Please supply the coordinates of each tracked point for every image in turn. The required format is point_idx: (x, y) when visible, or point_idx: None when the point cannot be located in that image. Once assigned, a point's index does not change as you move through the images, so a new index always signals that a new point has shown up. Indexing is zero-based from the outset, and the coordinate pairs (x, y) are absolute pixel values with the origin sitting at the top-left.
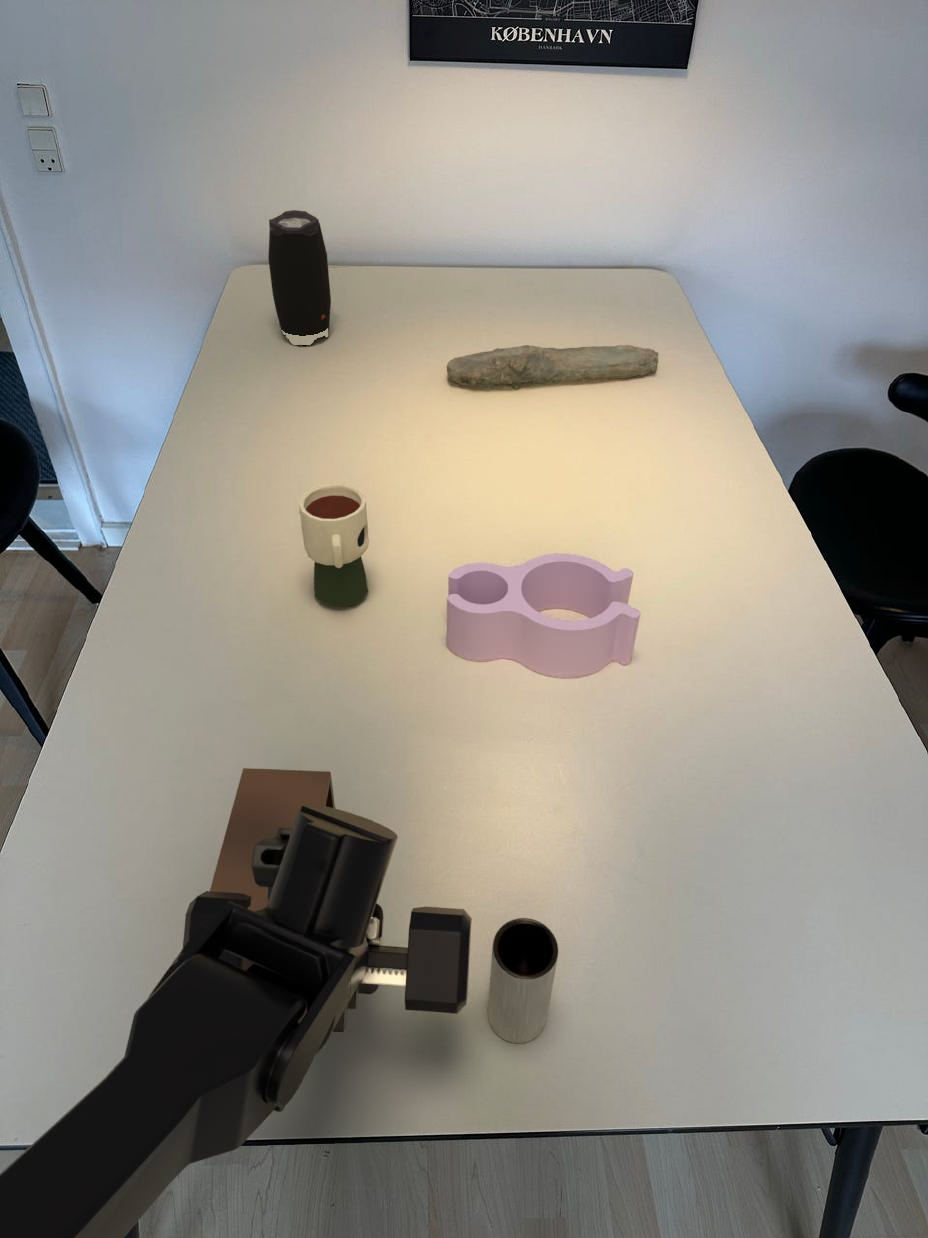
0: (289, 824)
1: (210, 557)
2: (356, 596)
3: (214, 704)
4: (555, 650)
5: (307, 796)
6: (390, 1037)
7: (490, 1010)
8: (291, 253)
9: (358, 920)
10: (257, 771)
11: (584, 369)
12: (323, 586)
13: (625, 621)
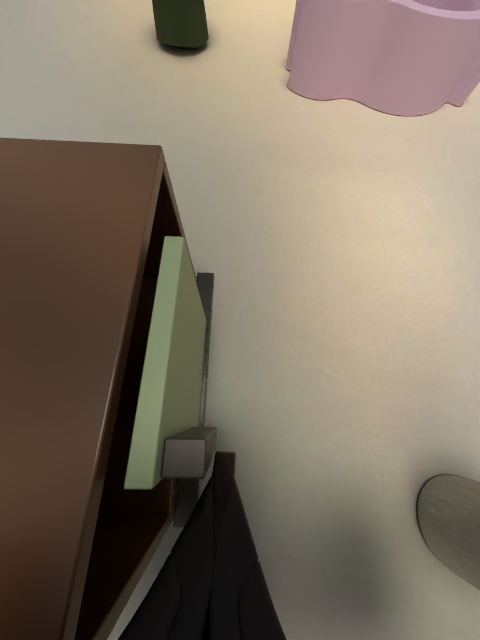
0: (57, 256)
1: (60, 12)
2: (197, 34)
3: (55, 133)
4: (419, 66)
5: (108, 192)
6: (288, 570)
7: (462, 565)
8: None
9: None
10: (2, 142)
11: None
12: (162, 13)
13: None
